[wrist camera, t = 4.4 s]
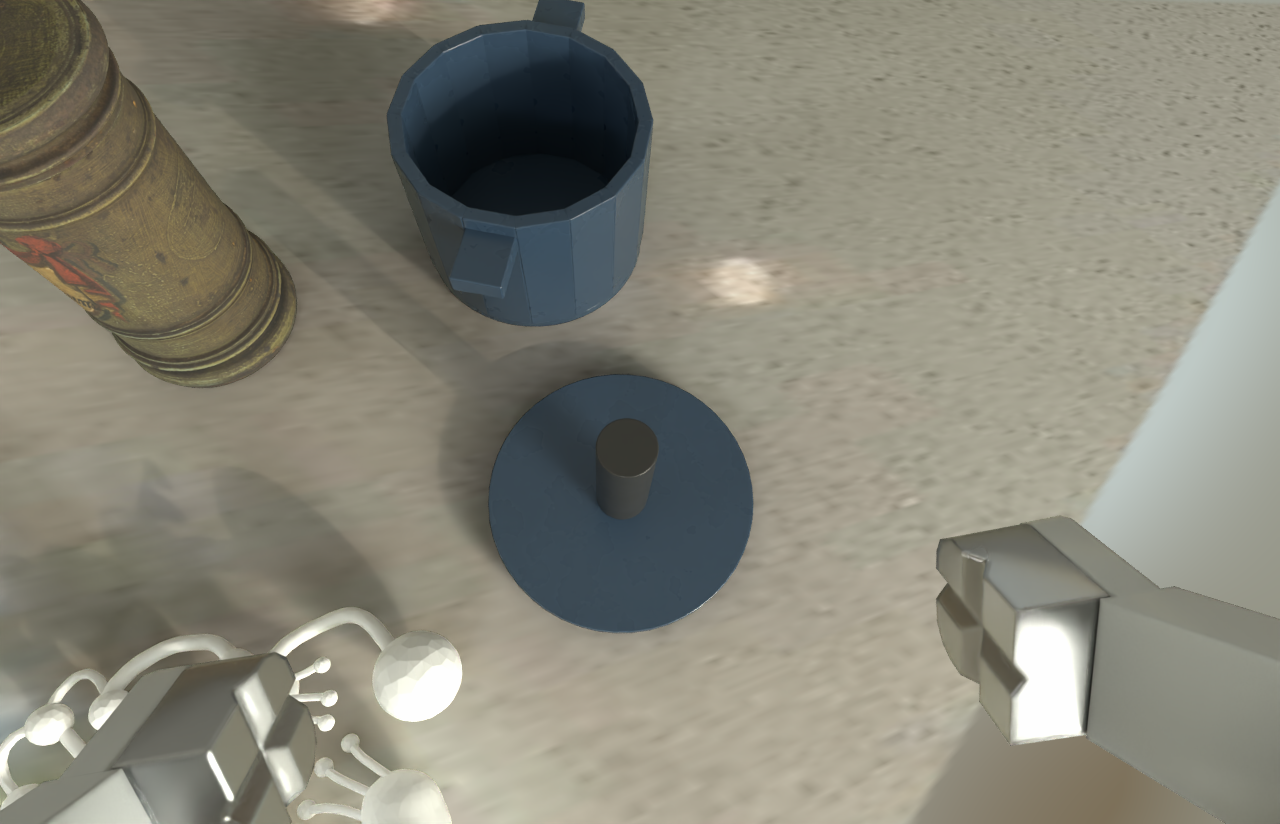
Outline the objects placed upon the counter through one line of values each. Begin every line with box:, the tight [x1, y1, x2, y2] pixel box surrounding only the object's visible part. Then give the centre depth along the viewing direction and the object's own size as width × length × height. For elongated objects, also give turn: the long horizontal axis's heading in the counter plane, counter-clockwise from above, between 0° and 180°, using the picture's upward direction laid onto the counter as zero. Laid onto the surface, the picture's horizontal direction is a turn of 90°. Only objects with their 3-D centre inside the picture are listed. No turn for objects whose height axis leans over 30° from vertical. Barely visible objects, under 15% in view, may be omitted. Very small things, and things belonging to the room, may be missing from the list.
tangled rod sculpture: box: [0, 607, 462, 824], centre depth 31 cm, size 19×14×4 cm
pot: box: [387, 0, 653, 326], centre depth 39 cm, size 12×18×10 cm
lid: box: [488, 374, 753, 633], centre depth 34 cm, size 13×13×9 cm
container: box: [0, 0, 297, 388], centre depth 32 cm, size 9×9×18 cm
